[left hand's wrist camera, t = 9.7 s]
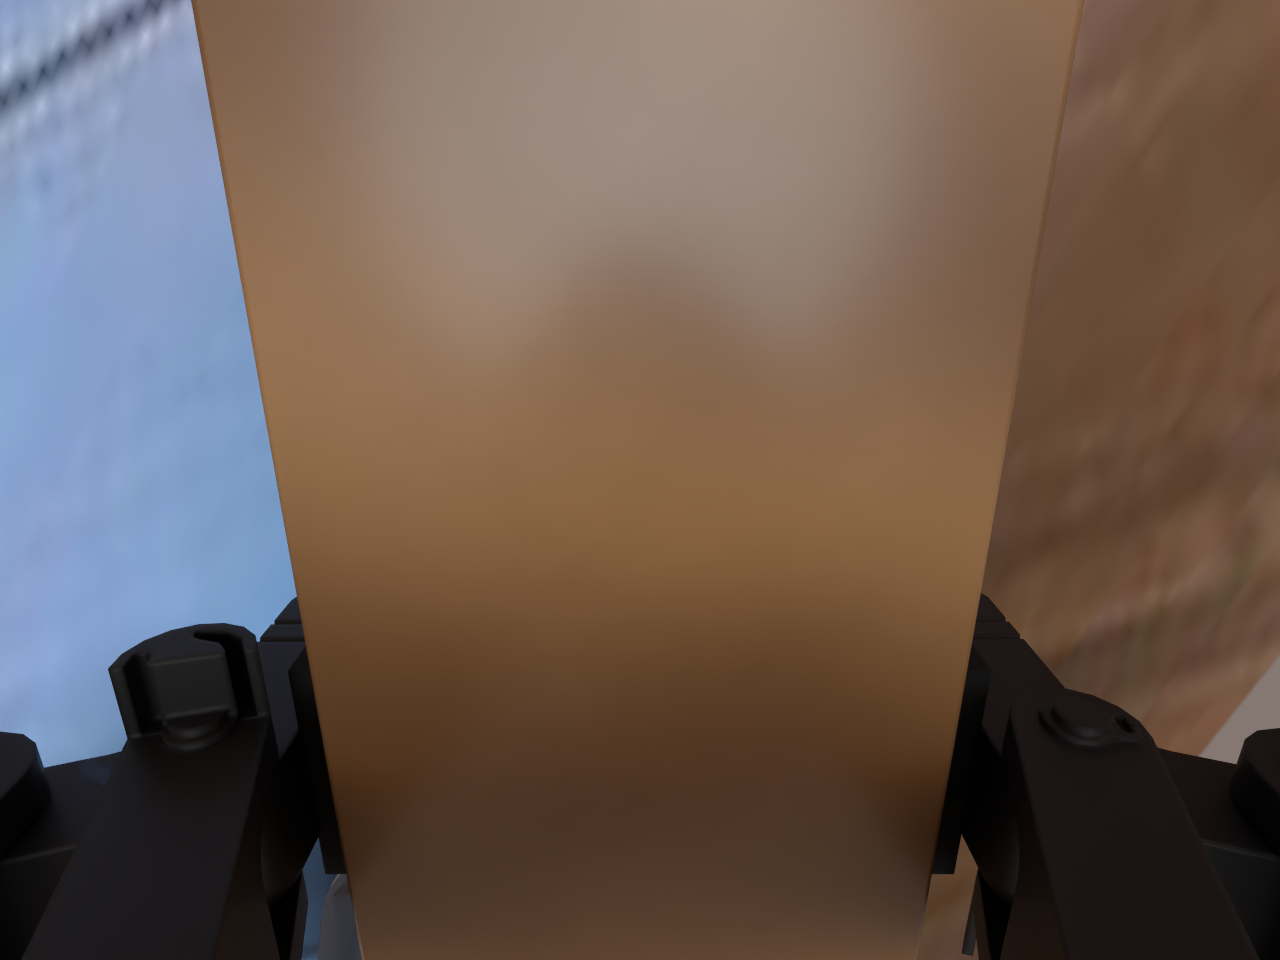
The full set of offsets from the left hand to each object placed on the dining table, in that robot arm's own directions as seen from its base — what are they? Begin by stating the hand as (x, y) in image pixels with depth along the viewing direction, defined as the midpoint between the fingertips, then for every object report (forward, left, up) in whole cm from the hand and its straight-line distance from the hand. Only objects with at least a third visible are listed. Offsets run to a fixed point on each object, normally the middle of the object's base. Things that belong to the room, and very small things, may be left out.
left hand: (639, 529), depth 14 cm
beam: (-3, +26, -1) cm, 26 cm away
